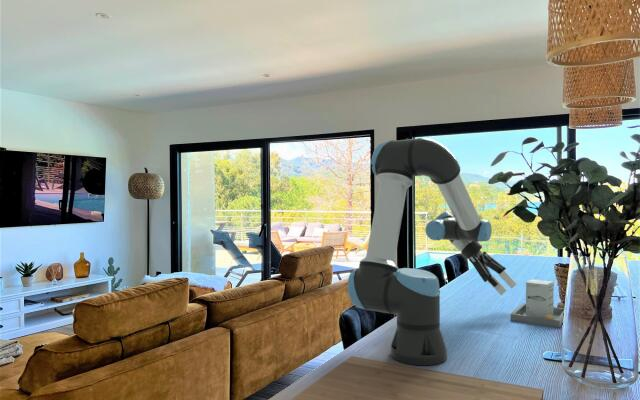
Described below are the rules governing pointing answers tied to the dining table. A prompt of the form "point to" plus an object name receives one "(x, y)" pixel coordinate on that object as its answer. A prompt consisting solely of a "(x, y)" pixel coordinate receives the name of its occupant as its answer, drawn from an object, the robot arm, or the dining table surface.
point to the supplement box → (539, 298)
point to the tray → (522, 317)
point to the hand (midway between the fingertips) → (509, 289)
